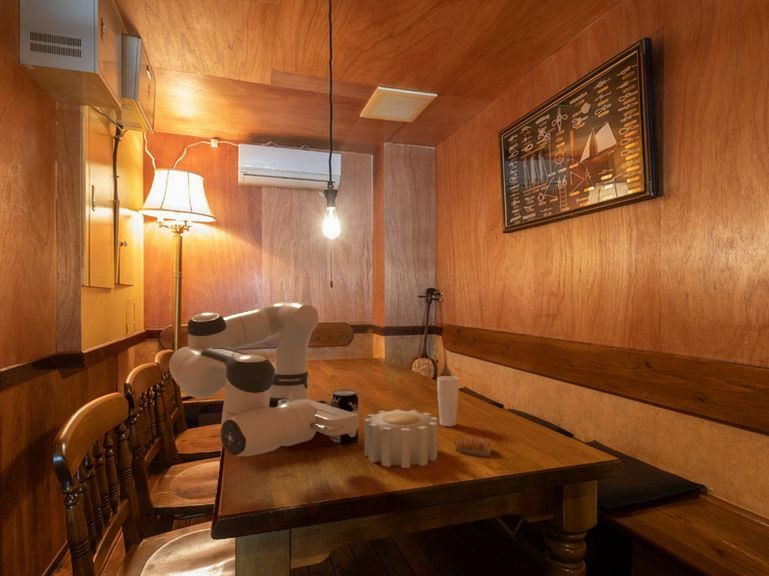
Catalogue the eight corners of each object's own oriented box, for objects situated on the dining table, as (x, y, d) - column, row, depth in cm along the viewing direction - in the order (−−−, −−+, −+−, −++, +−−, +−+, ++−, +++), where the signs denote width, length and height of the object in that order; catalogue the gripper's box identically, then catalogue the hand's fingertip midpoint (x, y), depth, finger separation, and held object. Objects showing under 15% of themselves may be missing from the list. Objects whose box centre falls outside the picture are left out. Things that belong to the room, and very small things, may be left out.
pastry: (454, 455, 114) (454, 440, 114) (455, 446, 121) (455, 432, 121) (491, 457, 112) (491, 443, 112) (490, 449, 119) (490, 434, 119)
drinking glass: (460, 422, 142) (460, 376, 142) (456, 428, 136) (456, 380, 136) (439, 420, 144) (439, 375, 144) (435, 426, 138) (435, 379, 138)
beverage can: (359, 438, 108) (360, 389, 108) (355, 447, 101) (355, 395, 101) (333, 437, 108) (334, 388, 108) (327, 446, 102) (328, 394, 102)
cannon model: (243, 443, 122) (243, 389, 122) (344, 430, 134) (344, 381, 134) (248, 459, 110) (248, 399, 111) (358, 444, 122) (358, 390, 122)
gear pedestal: (366, 469, 104) (366, 430, 104) (363, 442, 123) (363, 409, 123) (444, 466, 106) (444, 428, 106) (430, 440, 125) (430, 408, 125)
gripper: (328, 416, 88) (377, 404, 98) (274, 398, 103) (322, 389, 113) (328, 447, 88) (377, 432, 98) (274, 425, 103) (322, 414, 112)
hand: (347, 409), depth 105 cm, fingers closed on beverage can, 7 cm apart
